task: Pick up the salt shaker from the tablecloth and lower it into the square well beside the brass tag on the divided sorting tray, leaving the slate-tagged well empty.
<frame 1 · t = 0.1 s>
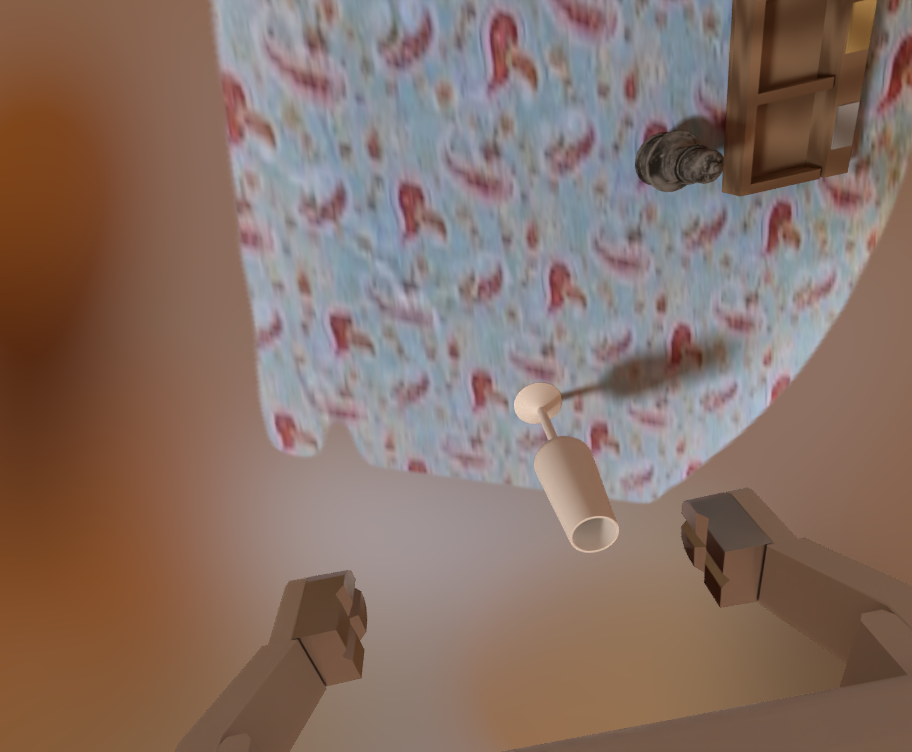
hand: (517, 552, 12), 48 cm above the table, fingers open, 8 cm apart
divided sorting tray: (781, 91, 51), on the table
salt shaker: (658, 159, 53), on the table
champagne flute: (537, 402, 67), on the table
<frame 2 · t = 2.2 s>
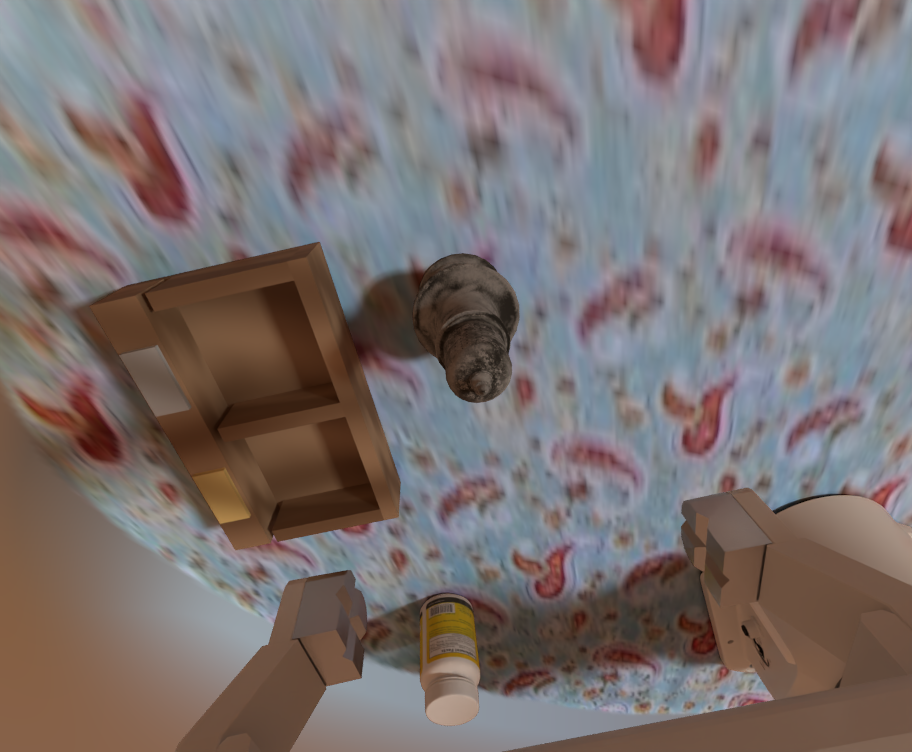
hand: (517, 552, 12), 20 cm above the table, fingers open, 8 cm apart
divided sorting tray: (281, 396, 32), on the table
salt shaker: (461, 295, 30), on the table
supplement bottle: (446, 607, 43), on the table
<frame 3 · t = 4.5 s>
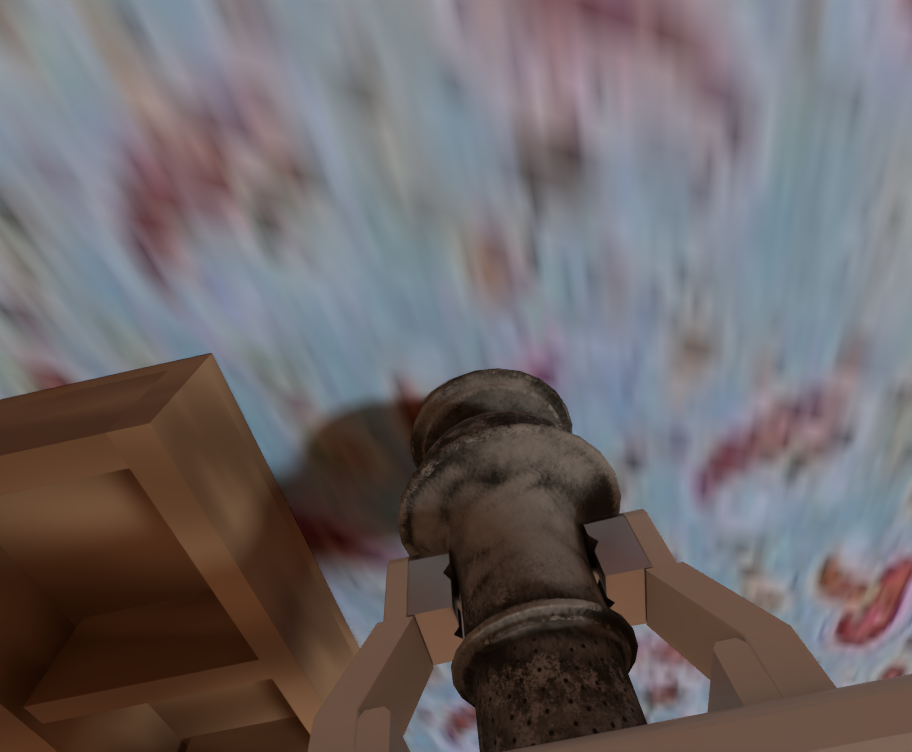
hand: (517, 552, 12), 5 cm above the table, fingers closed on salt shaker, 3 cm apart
divided sorting tray: (170, 597, 18), on the table
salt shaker: (490, 436, 16), on the table, touching gripper
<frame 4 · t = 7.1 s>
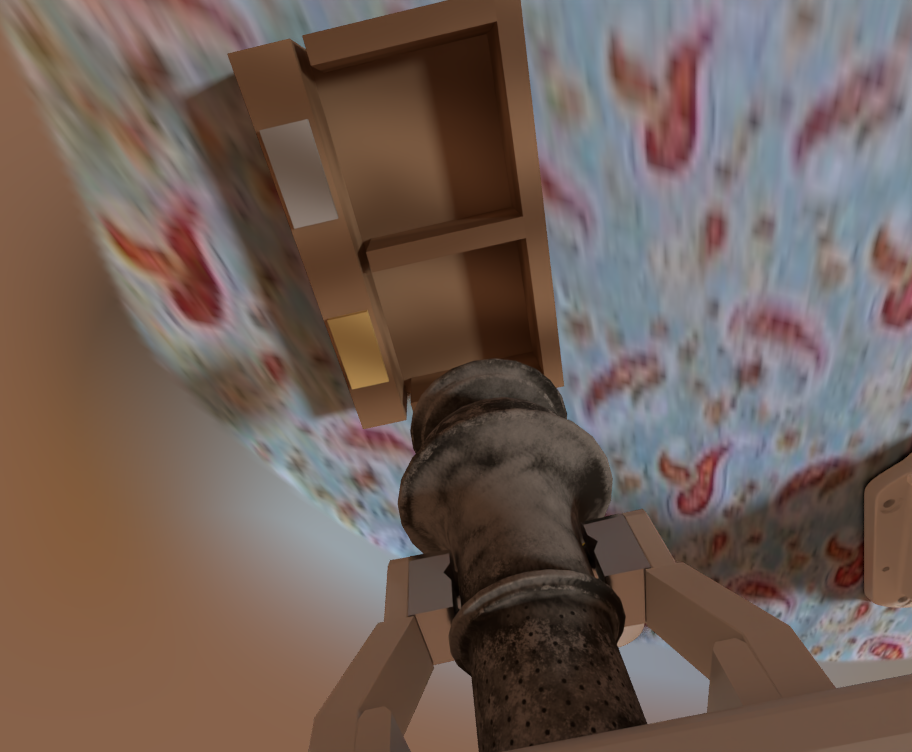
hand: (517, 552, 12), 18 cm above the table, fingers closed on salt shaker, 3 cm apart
divided sorting tray: (424, 234, 26), on the table
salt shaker: (488, 425, 16), point 13 cm above the table, touching gripper
supplement bottle: (572, 526, 37), on the table
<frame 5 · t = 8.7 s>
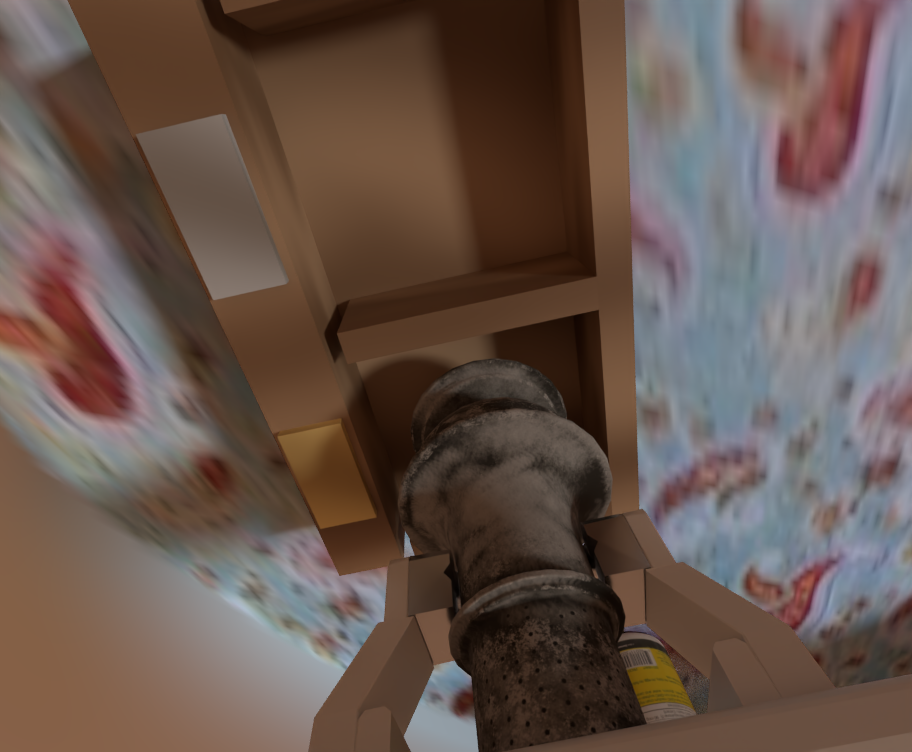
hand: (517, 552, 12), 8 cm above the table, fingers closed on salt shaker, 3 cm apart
divided sorting tray: (431, 290, 17), on the table
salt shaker: (488, 425, 16), point 3 cm above the table, touching gripper
supplement bottle: (622, 651, 28), on the table
when the fingers open (7 cm above the table, at t = 9.7 s): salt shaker drops 1 cm, resting on divided sorting tray.
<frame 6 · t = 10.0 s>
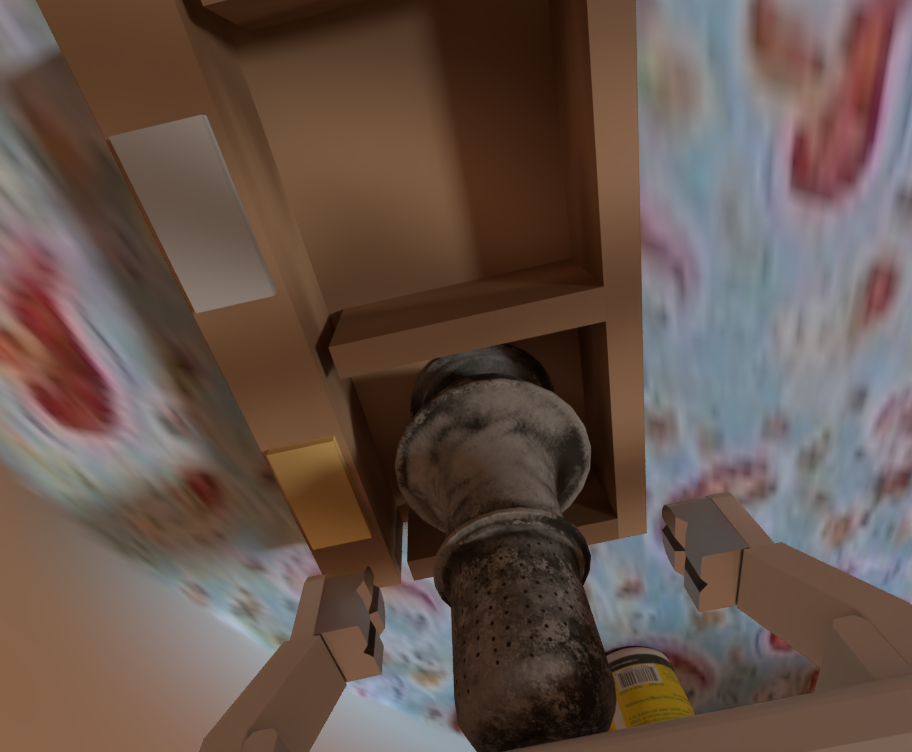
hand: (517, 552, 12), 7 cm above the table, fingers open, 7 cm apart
divided sorting tray: (429, 299, 16), on the table
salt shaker: (482, 405, 18), point 1 cm above the table, touching divided sorting tray
supplement bottle: (626, 666, 28), on the table
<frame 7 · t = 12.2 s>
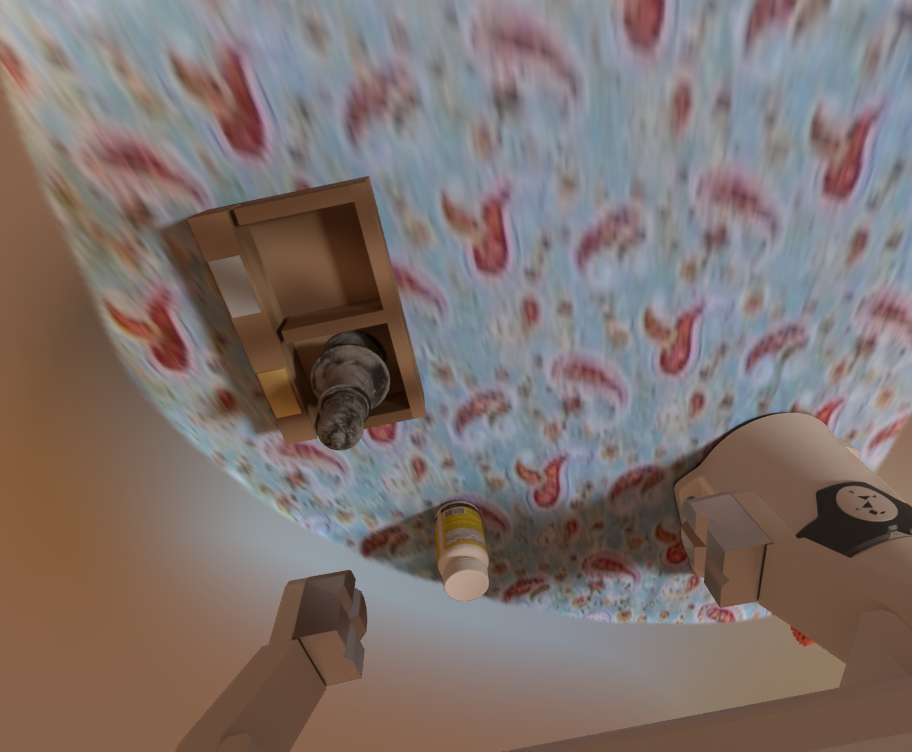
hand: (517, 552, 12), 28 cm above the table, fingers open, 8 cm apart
divided sorting tray: (328, 312, 38), on the table
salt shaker: (355, 359, 39), resting on divided sorting tray
supplement bottle: (457, 515, 49), on the table
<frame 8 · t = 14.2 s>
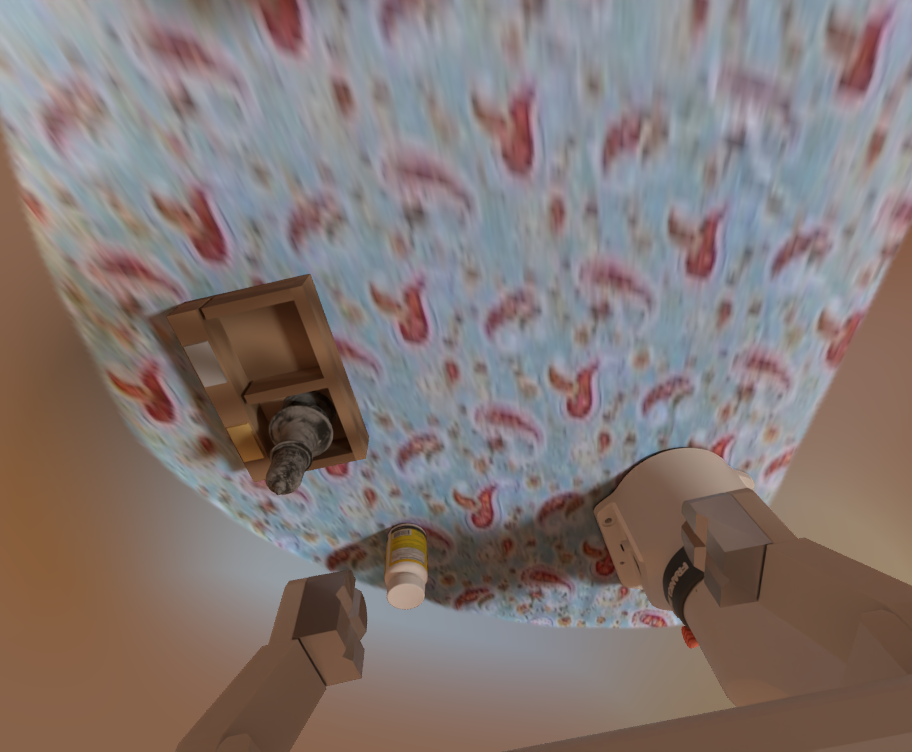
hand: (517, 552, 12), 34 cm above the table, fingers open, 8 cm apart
divided sorting tray: (285, 375, 47), on the table
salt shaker: (309, 411, 48), resting on divided sorting tray
supplement bottle: (407, 535, 58), on the table
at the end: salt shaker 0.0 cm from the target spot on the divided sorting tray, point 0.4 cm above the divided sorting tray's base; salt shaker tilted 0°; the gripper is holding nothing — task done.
